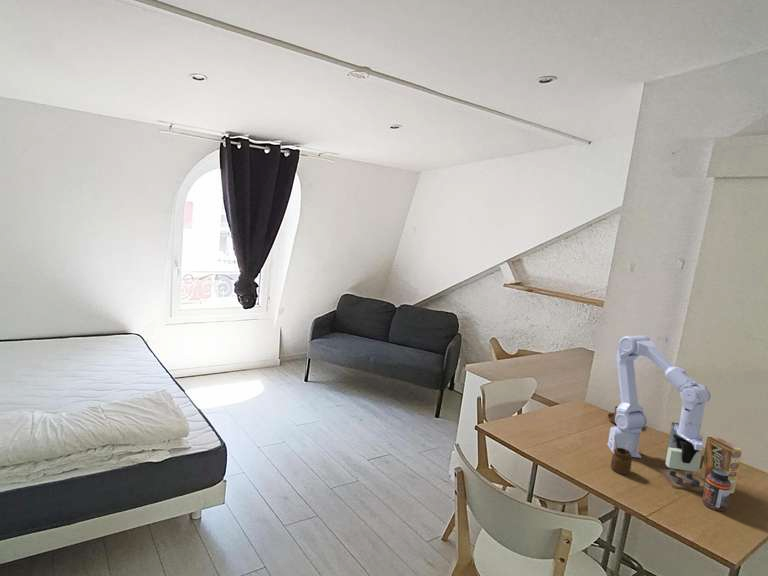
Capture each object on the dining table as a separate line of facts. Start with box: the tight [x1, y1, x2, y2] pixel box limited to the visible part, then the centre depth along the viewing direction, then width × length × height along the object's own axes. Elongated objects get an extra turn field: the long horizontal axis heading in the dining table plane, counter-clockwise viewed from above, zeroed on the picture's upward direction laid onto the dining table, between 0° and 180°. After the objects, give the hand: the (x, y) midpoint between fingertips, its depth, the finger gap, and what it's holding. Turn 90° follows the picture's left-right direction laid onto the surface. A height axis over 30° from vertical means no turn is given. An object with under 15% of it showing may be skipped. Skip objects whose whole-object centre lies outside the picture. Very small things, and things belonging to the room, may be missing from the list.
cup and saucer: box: [607, 405, 619, 424], centre depth 188 cm, size 12×12×6 cm
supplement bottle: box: [702, 468, 731, 512], centre depth 132 cm, size 6×6×11 cm
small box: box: [667, 421, 703, 453], centre depth 162 cm, size 11×6×10 cm, turn 168°
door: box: [665, 447, 703, 473], centre depth 143 cm, size 9×2×6 cm, turn 79°
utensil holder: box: [610, 435, 634, 475], centre depth 148 cm, size 6×6×12 cm
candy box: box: [699, 436, 743, 495], centre depth 142 cm, size 9×4×15 cm, turn 13°
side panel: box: [658, 468, 706, 493], centre depth 145 cm, size 12×10×3 cm
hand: (683, 460), depth 143 cm, fingers closed on door, 2 cm apart
